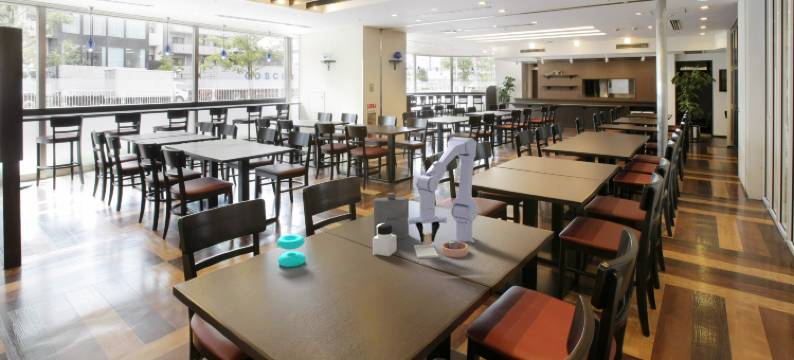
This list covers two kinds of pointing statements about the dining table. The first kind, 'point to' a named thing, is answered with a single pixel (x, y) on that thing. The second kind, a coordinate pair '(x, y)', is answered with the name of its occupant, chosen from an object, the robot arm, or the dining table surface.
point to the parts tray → (425, 251)
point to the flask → (392, 214)
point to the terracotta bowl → (454, 253)
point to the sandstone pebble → (427, 238)
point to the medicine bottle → (384, 240)
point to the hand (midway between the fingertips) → (427, 241)
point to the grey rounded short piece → (453, 245)
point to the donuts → (291, 257)
